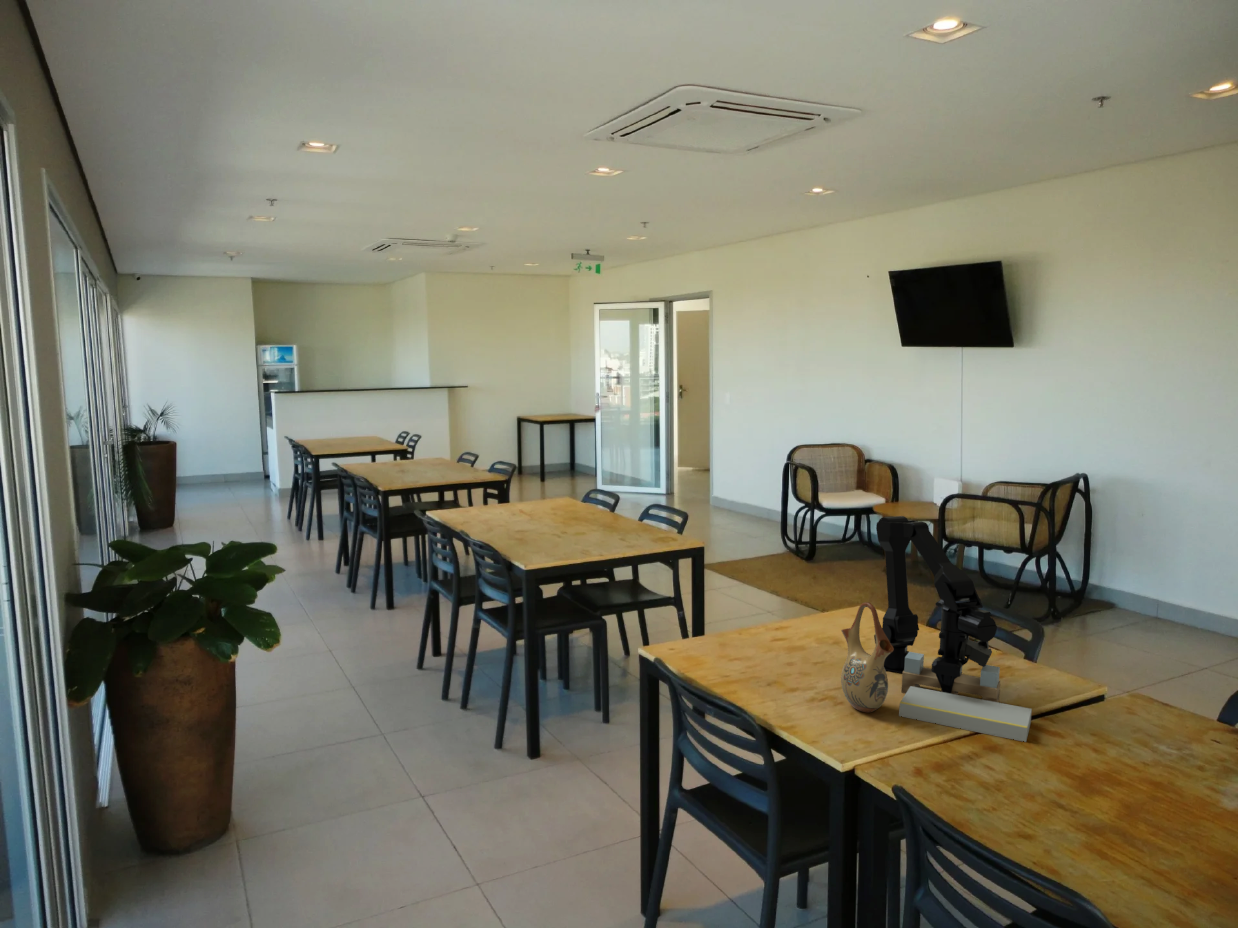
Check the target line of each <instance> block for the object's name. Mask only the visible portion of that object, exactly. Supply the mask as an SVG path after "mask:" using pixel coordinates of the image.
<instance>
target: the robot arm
mask: <svg viewBox="0 0 1238 928" xmlns="http://www.w3.org/2000/svg"><path fill="white" fill-rule="evenodd" d="M875 526H876V527H875V528H876V535H877V541H878V543H879V545H880V546H881V547H882V549H883V550H884V554H885V555H884V557H885V571H886V572H885V573H886V589H887V603H888V604H887V605H888V607H887V609H886V611H885V614H884V616H883V618H882V625H881V627H882V629H883V631H884V633H885V635H886V637H887V638H888V640H889V642H890V643H891V645H892V646H893V648H894V650H893V652H891V653H890V654H889V655H888V656H887V657H886V659H885V661H884V668H885V671H886V672H894V673H899V674H902V672H903V671H904V666H905V657H906V655H907V654H908V653H909V652H910V650H908V646H909V647H910V646H914V643H915V641H916V638H917V637H918V634H919V633H918V632H919V631H920V628H919V616H918V614H917V613H916V614H914V613H913V611H912V610H911V609H910V606H909V590H908V574H907V557H906V551H907V548H908V546H909V545H910V543H911V542H912V544H913V546H914V547H915V548H916V550H917V551H918V553H919V554H920V556H921V558H922V559H923V561H924V562H925V563H926V565H927V567H928V568H929V569H930V571H931V573H932V574H933V586H934V587H935V589H936V591H937V594H938V595H939V597H940V600H938V601H936V603H935V606H936V607H939V608H941V617H940V618H941V619H940V620H941V622H940V632H939V633H938V638H939V648H938V650H937V655H938V656H937V657H936V658H934V660H933V661H932V663H931V672H933V673H935V674H936V676H937V679H938V681H939V683H940V686H941V688H942V691H943V692H944V693H950V694H951V692H952V688H953V684H954V681H955V679H956V678H957V677H960V676H961V674H963V666H964V665H966V664H967V663H968V661H969V660H970V661H972V662H974V663H976V664H978V666H980V667H985V666H986V665H988V662H989V660H990V658H991V655H992V654H993V651H992V648H989V647H990V646H989V642H990V641H991V640H992V639H994V637H995V636H996V634H997V631H998V625H997V622H996V620H995V619H994V618H992V616H991V611H988V610H983V603H982V601H981V598H980V597H979V594H978V592H977V589H976V588H975V584H974V582H973V580H972V579H971V577H969V575H968V574H967V573H966V572H965V571H964V570H963V569H961V568H959V567H957V566H955V565H954V563H952V562H951V560H950V559H949V557H948V555H947V554H946V553H945V551H944V550H943V549H942V546H940V544H939V543H938V541H937V540H936V538H935V537H934V535H933V534H932V533H931V531H930V528H929V527H930V526H929V525H928V524H927V523H926V522H925V521H923V520H922V521H918V520H912V519H911V520H910V519H908V518H907V517H906V516H903V515H898V516H885V517H881V518H879V520H878V521H877V522H876V524H875ZM873 638H874V639H873V640H874V644H875V645H876V637H875V634H874V635H873ZM970 638H973V639H976V640H978V641H976V640H974V641H973V640H971V639H970ZM941 688H940V689H941Z"/></svg>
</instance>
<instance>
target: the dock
mask: <svg viewBox="0 0 1238 928" xmlns="http://www.w3.org/2000/svg"><path fill="white" fill-rule="evenodd" d="M1032 709H1033V708H1030V707H1024V706H1020V705H1019V706H1018V705H1012V704H1007V703H1003V702H1002V703H1001V702H992V701H987V700H982V698H981V699H980V698H975V697H970V696H966V695H965V696H964V695H960V694H958V695H955V694H950V693H944V692H941V691H938V690H932V689H927V688H922V687H919V688H918V687H912V686H910V688H909V689H908V691H907V692H906V693H904V695H903V697H902V699H901V700H900V702H899V711H898V717H901V716H902V717H903V718H908V719H911V720H912V719H913V720H916V719H917V720H918V721H920V722H925V723H926V722H927V723H932V724H935V723H936V725H941V726H946V727H950V728H954V729H955V728H956V729H960V728H961V730H966V731H970V732H976V733H979V734H980V733H981V734H985V735H990V736H995V737H998V738H1005V739H1008V740H1009V739H1010V740H1013V739H1014V741H1018V742H1023V741H1024V743H1027V739H1028V735H1029V731H1030V727H1031V723H1032V712H1033V711H1032ZM917 720H916V721H917Z"/></svg>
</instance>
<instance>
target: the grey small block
mask: <svg viewBox="0 0 1238 928" xmlns="http://www.w3.org/2000/svg"><path fill="white" fill-rule="evenodd" d="M924 661H925V654H924V653H920V652H913V651H909V653H908V654H907V655H906V657H905V666H904V672H909V673H914V674H920V672H921V671H922V669H923V667H924Z"/></svg>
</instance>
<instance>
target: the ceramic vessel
mask: <svg viewBox="0 0 1238 928" xmlns="http://www.w3.org/2000/svg"><path fill="white" fill-rule="evenodd" d="M865 608H868V609H869V610H870V612H871V616H872V618H873V619H872V620H873V625H874V635H875V637H876V644H875V645H874V646H875V647H874V650H873V652H872V654H869V653H868V652H867V651H866V650H865V649H864V647H863V645H862V642H861V639H860V629H861V628H860V626H861V620H862V616H863V613H864V610H865ZM879 619H880V618H879V615H878V612H877V609H876V607H875V606H874V604H872V603H871V602H868V601H867V602H862V603H861V604H860V606H859V607H858V609H857V613H856V615H855V619H854V620H853V623H852V625H851V626H850V627H848V628H843V629H841V633H842V635H843V636H844V638H845V642H846V644H847V656H846V659H845V662H844V664H843V665H842V670H841V674H840V675H841V677H840V678H841V681H840V682H841V689H842V691H843V694H844V697H845V699H846V700H847V702H848V703H849V704H850V705H851V707H853V708H854V709H856V710H857V711H860V712H862V713H874V712H875V711H876V710H878V709H880V707H881V706H882V705H883V704H884V703H885V701H886V699H887V696H888V692H889V678H888V674H887V670H885V668H884V661H885V659H886V657H887V656H888V655H889V654H890V653H891V652H893V650H894V648H893V646H892V645H891V643H890V642H889V640H888V638H887V637H886V635H885V633H884V631H883V629H882V625H881V622H880V620H879Z"/></svg>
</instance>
